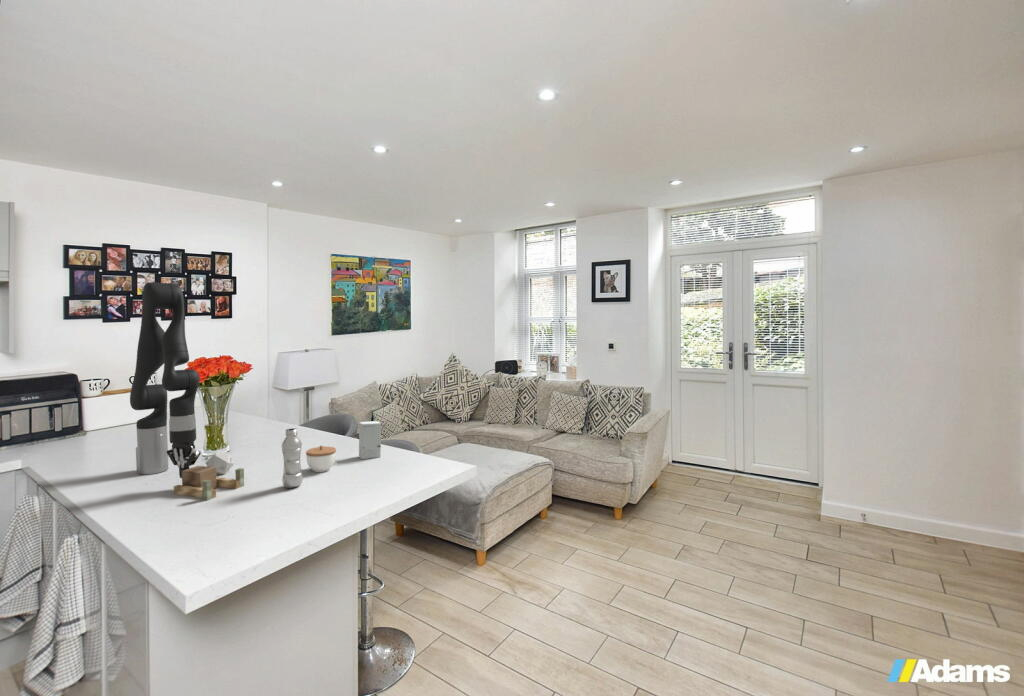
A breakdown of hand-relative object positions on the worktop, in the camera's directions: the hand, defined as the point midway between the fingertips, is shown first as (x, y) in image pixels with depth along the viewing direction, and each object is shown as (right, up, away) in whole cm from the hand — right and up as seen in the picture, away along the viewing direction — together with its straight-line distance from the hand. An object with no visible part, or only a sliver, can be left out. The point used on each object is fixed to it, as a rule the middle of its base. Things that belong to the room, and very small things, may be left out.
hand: (184, 477), depth 162 cm
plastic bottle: (+37, -4, +1) cm, 37 cm away
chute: (+10, -4, -3) cm, 11 cm away
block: (+6, -4, -2) cm, 7 cm away
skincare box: (+52, -2, +38) cm, 65 cm away
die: (+2, -3, +16) cm, 17 cm away
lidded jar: (+39, -3, +20) cm, 44 cm away
